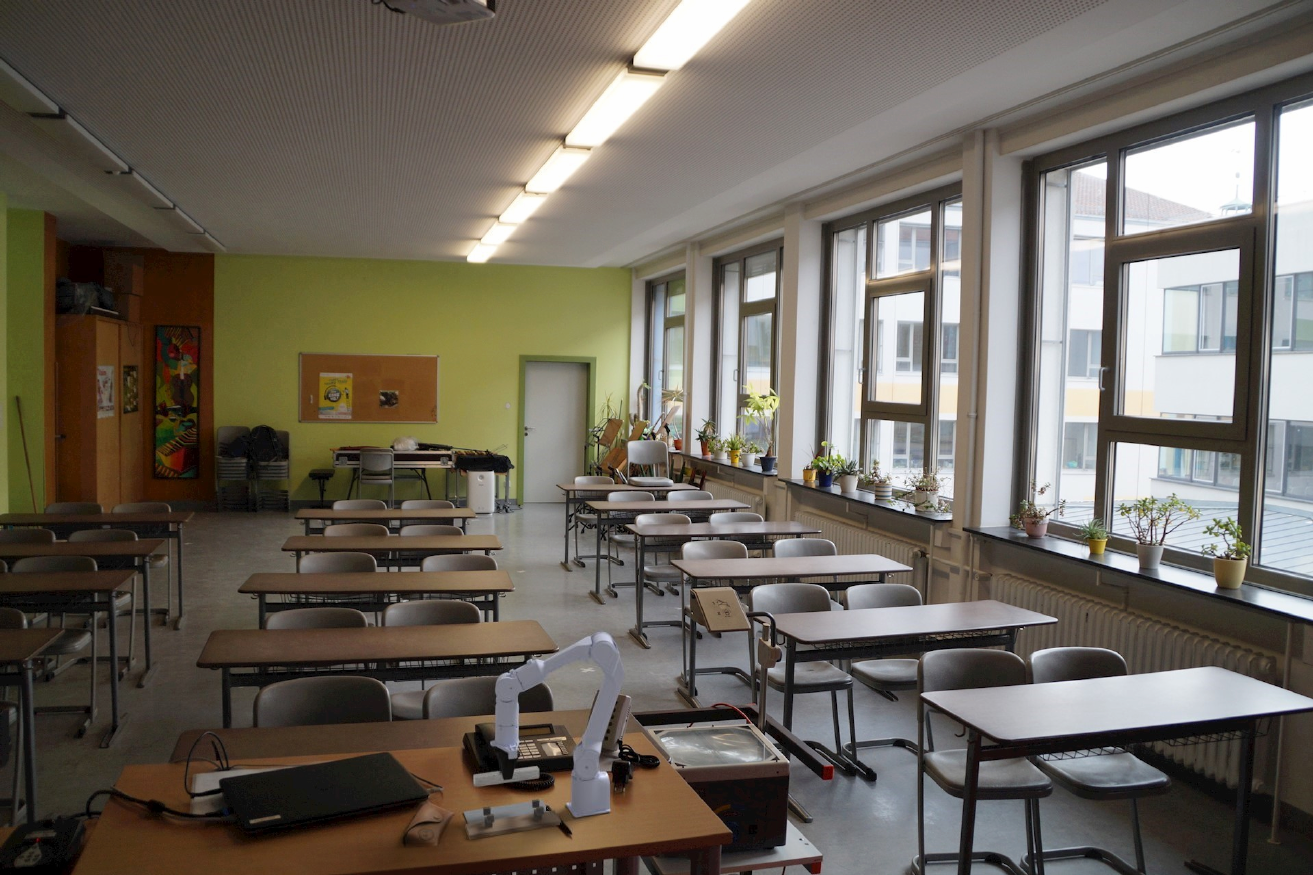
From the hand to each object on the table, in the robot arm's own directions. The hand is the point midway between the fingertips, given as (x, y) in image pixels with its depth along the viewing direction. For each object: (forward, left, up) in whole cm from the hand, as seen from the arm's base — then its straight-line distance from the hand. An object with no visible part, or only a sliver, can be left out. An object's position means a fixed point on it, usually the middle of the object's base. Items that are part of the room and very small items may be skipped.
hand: (506, 777), depth 223 cm
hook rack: (0, +8, -9) cm, 12 cm away
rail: (0, 0, -1) cm, 1 cm away
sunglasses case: (+19, +2, -10) cm, 21 cm away
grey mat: (0, 0, -9) cm, 9 cm away
